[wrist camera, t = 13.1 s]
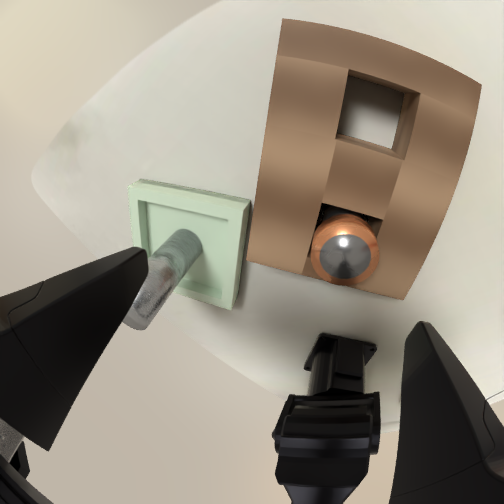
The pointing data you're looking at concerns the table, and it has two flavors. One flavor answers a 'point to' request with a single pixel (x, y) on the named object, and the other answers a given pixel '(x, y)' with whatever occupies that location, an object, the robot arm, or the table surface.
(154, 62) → the table surface
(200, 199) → the tray
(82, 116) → the table surface
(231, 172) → the table surface
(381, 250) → the socket block
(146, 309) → the grey metal peg
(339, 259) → the plunger
